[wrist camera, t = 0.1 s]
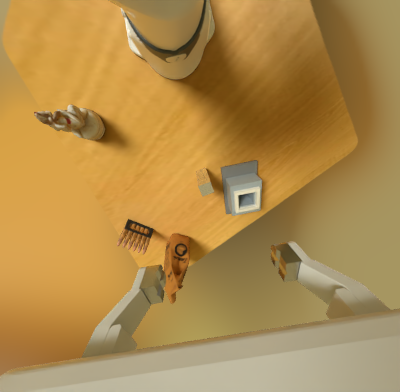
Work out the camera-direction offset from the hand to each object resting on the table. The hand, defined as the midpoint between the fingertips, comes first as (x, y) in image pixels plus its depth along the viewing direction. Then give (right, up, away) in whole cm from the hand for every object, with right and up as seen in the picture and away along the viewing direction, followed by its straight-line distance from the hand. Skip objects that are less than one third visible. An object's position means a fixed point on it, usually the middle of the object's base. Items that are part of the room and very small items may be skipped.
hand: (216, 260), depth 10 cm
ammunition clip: (-26, -7, +48) cm, 55 cm away
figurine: (-31, +25, +28) cm, 48 cm away
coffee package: (-11, -17, +55) cm, 59 cm away
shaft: (0, +12, +38) cm, 40 cm away
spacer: (+14, +4, +37) cm, 39 cm away
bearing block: (+14, +7, +42) cm, 45 cm away
